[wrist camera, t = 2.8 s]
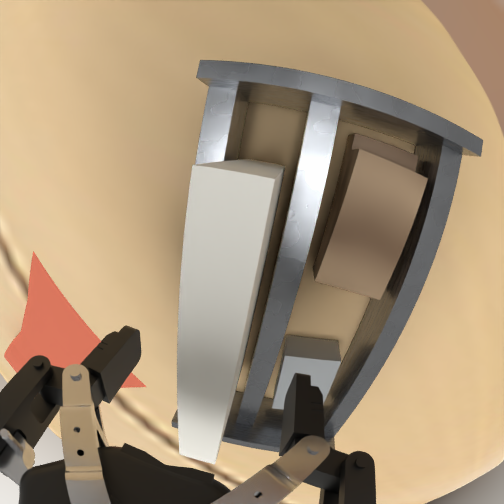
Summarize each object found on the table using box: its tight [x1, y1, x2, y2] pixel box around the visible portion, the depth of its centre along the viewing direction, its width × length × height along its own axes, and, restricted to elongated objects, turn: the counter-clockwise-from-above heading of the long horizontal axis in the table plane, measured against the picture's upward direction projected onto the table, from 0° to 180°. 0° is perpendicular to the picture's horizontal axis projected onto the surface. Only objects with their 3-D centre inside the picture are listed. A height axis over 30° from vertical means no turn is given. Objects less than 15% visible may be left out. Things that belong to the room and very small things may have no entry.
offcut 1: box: [272, 335, 341, 410], centre depth 22 cm, size 7×4×3 cm, turn 175°
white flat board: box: [177, 159, 285, 464], centre depth 16 cm, size 18×2×11 cm, turn 170°
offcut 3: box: [313, 149, 428, 300], centre depth 15 cm, size 8×4×2 cm, turn 166°
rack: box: [172, 60, 483, 452], centre depth 18 cm, size 28×15×6 cm, turn 170°
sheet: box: [4, 251, 146, 396], centre depth 29 cm, size 5×30×24 cm
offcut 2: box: [315, 133, 418, 284], centre depth 17 cm, size 10×4×2 cm, turn 169°
